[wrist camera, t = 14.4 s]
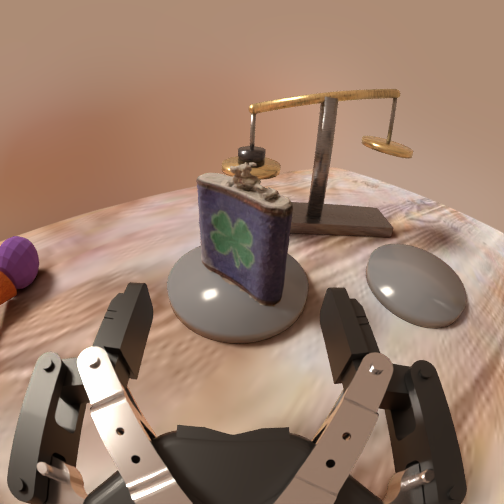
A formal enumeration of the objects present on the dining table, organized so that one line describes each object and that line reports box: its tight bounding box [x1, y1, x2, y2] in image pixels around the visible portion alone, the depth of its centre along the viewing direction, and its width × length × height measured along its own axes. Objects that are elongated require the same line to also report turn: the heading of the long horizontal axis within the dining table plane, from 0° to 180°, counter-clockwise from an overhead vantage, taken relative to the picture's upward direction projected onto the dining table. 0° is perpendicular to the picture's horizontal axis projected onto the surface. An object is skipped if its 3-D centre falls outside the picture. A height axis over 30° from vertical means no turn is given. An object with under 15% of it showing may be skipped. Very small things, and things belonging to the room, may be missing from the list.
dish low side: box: [167, 246, 308, 343], centre depth 26 cm, size 13×13×1 cm
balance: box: [222, 89, 413, 237], centre depth 31 cm, size 24×7×20 cm, turn 92°
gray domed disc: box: [366, 244, 467, 328], centre depth 27 cm, size 13×13×1 cm
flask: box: [197, 162, 293, 307], centre depth 22 cm, size 9×3×11 cm, turn 48°
